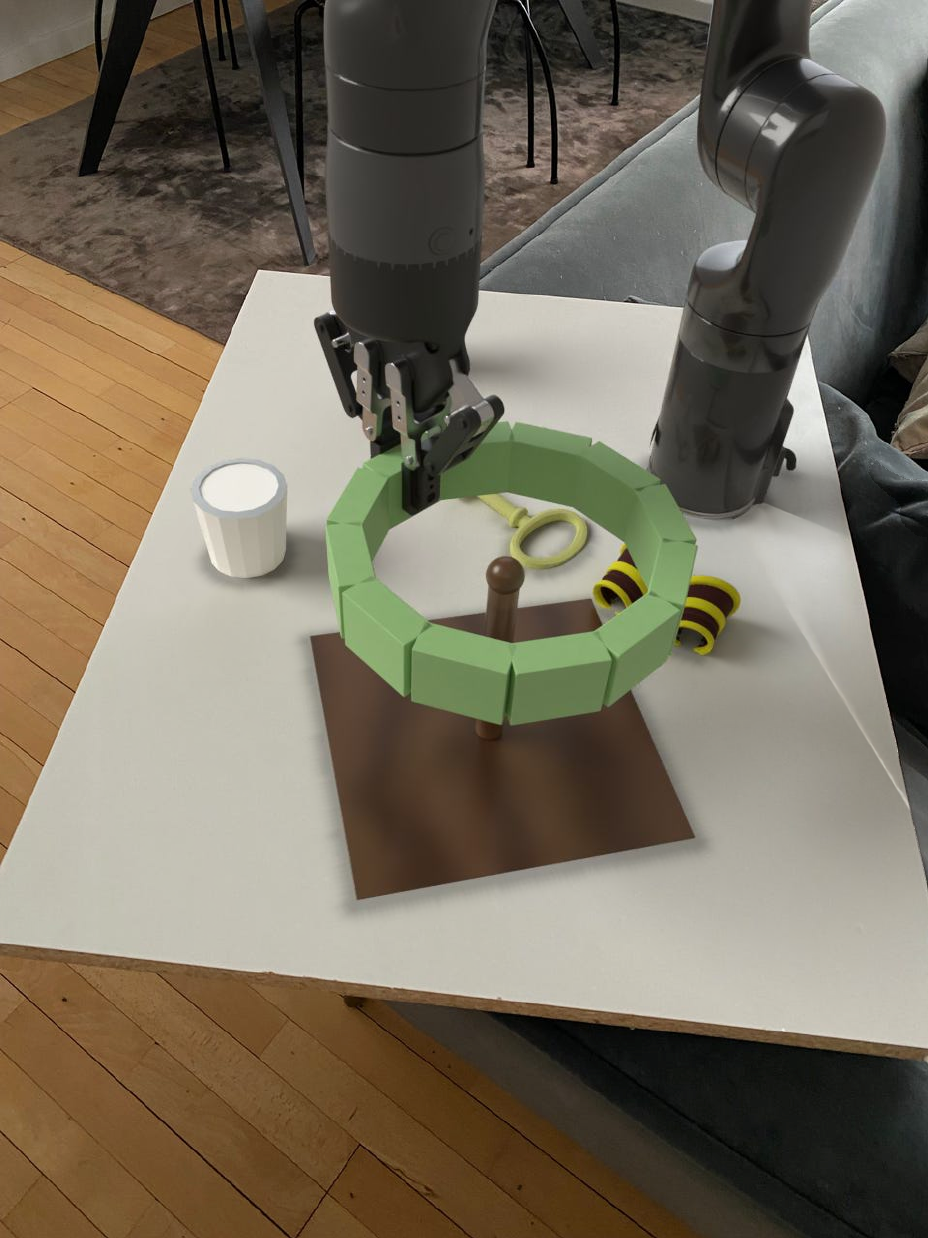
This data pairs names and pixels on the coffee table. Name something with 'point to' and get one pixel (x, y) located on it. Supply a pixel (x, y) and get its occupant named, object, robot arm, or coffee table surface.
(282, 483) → the white cup
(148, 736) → the coffee table surface
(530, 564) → the key
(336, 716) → the stand
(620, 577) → the opera glasses
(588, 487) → the green ring
